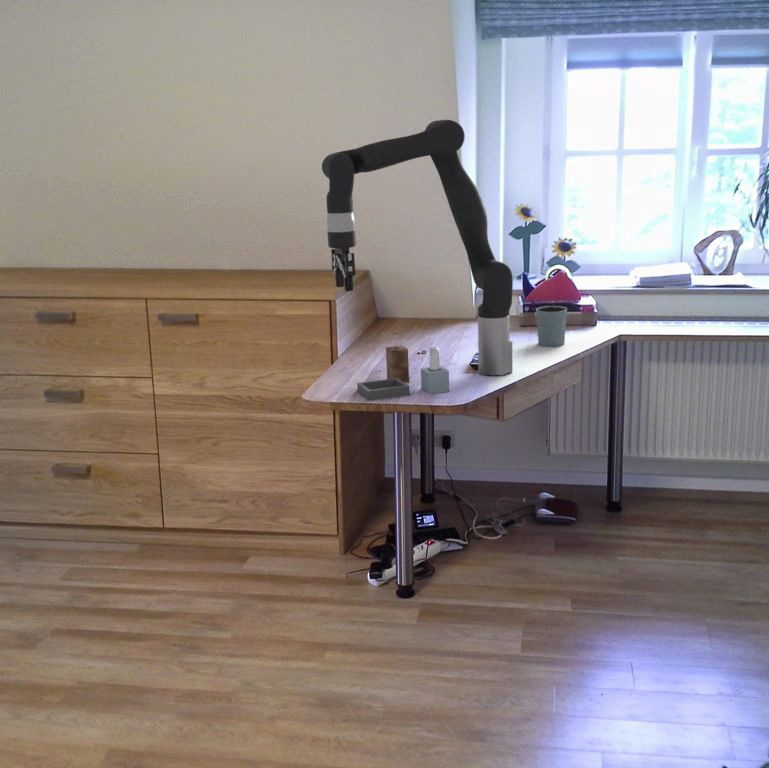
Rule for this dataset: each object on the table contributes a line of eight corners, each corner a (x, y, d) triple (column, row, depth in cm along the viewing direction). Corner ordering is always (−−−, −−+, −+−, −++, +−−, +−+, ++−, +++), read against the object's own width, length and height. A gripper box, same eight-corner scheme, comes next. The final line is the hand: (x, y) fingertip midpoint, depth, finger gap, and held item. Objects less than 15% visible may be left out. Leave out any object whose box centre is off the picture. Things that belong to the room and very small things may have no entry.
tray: (397, 386, 264) (397, 377, 264) (409, 394, 255) (409, 385, 255) (357, 391, 261) (357, 382, 260) (368, 400, 252) (368, 391, 251)
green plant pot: (566, 340, 312) (567, 305, 308) (566, 347, 302) (567, 311, 299) (536, 340, 313) (536, 306, 310) (535, 347, 304) (535, 311, 301)
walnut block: (403, 378, 273) (401, 345, 270) (409, 382, 268) (407, 348, 265) (387, 380, 271) (385, 347, 268) (392, 384, 266) (391, 350, 264)
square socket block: (441, 386, 262) (440, 365, 261) (449, 391, 257) (448, 370, 255) (421, 388, 260) (420, 368, 259) (429, 394, 255) (428, 373, 253)
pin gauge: (437, 388, 260) (436, 347, 257) (441, 390, 258) (440, 348, 255) (429, 389, 259) (428, 348, 256) (432, 391, 257) (431, 349, 254)
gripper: (362, 230, 244) (365, 291, 248) (346, 226, 257) (349, 284, 261) (335, 232, 241) (338, 294, 246) (320, 228, 254) (324, 286, 259)
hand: (344, 288), depth 253 cm, fingers open, 8 cm apart
